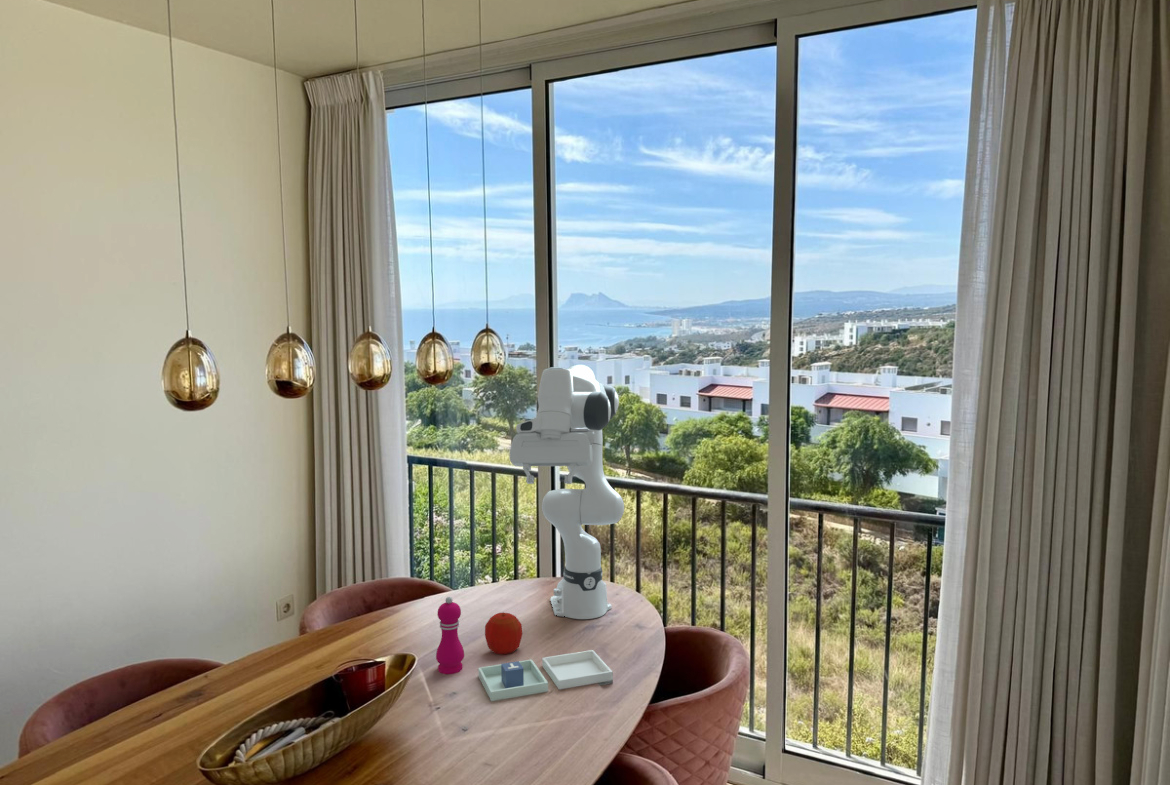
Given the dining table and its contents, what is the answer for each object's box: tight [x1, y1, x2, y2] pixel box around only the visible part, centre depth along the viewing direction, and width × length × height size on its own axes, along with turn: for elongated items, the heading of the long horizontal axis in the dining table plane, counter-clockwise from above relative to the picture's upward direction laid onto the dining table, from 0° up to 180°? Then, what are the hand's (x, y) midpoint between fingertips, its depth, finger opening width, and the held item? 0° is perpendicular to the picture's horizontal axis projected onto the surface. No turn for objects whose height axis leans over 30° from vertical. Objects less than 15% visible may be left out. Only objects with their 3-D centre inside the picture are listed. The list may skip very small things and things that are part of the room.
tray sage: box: [477, 659, 549, 702], centre depth 194 cm, size 14×14×3 cm
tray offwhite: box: [541, 649, 614, 690], centre depth 200 cm, size 14×14×3 cm
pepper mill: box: [435, 596, 465, 675], centre depth 202 cm, size 7×7×20 cm
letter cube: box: [500, 660, 524, 688], centre depth 194 cm, size 4×4×5 cm
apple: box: [484, 612, 524, 655], centre depth 214 cm, size 10×10×12 cm
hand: (548, 483), depth 186 cm, fingers open, 8 cm apart
